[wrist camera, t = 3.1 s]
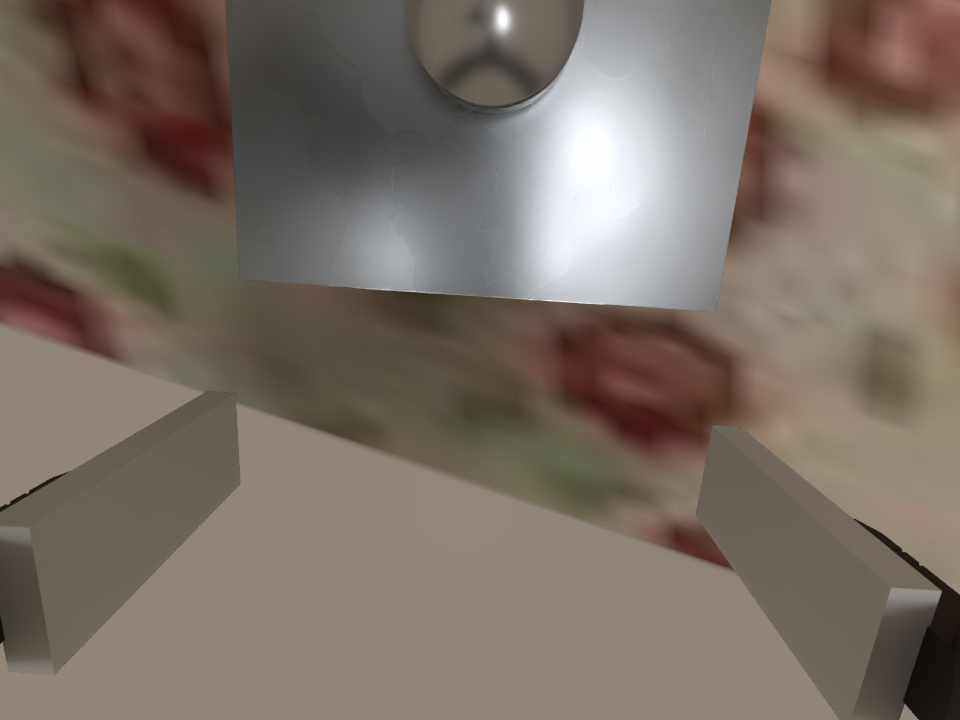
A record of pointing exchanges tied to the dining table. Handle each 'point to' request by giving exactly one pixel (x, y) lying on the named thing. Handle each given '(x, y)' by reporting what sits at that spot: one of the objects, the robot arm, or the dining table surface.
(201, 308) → the dining table surface
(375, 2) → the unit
